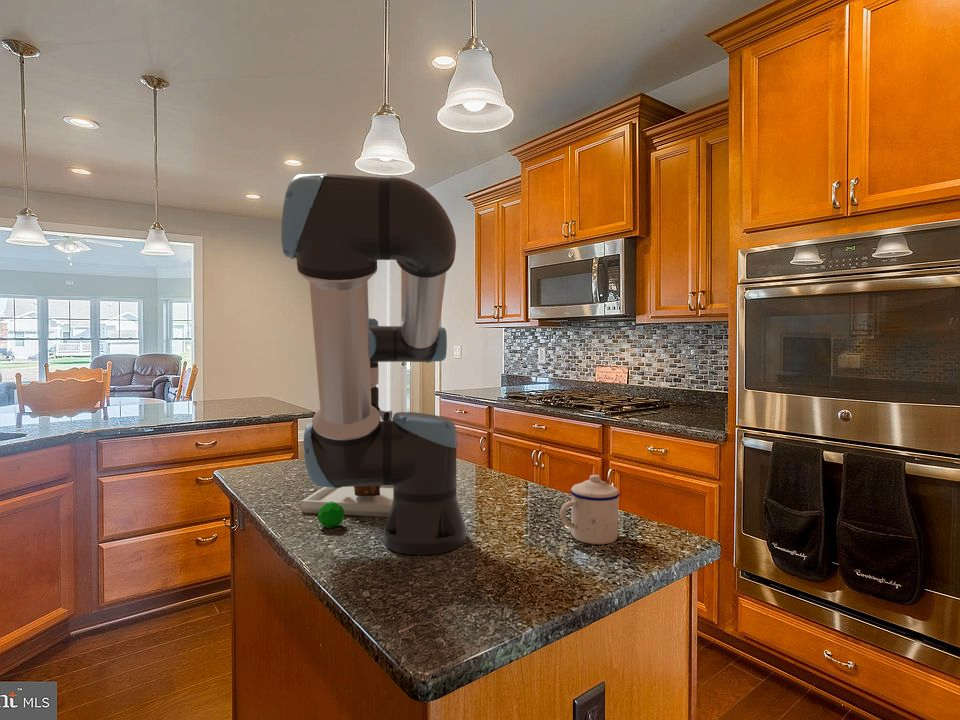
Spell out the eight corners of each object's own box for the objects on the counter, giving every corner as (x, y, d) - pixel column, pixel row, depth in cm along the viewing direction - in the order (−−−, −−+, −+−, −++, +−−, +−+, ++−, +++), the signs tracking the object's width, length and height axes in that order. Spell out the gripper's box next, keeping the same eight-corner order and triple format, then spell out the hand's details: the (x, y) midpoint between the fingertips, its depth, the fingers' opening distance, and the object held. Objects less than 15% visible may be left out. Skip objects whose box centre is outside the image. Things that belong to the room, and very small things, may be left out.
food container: (347, 491, 127) (345, 449, 128) (373, 489, 129) (371, 447, 130) (352, 499, 115) (350, 452, 116) (381, 496, 117) (378, 449, 118)
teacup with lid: (599, 525, 108) (600, 468, 108) (629, 541, 100) (630, 479, 99) (547, 534, 103) (548, 473, 103) (574, 551, 95) (575, 485, 94)
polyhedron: (341, 531, 104) (341, 506, 104) (315, 531, 104) (315, 507, 104) (346, 522, 109) (346, 499, 109) (321, 522, 109) (321, 499, 109)
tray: (390, 517, 112) (390, 505, 112) (301, 512, 115) (301, 500, 115) (414, 491, 131) (414, 481, 131) (338, 487, 134) (338, 477, 134)
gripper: (412, 385, 124) (411, 482, 125) (323, 384, 127) (324, 478, 128) (403, 388, 117) (402, 491, 118) (309, 386, 120) (310, 486, 121)
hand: (361, 484), depth 123 cm, fingers open, 9 cm apart
